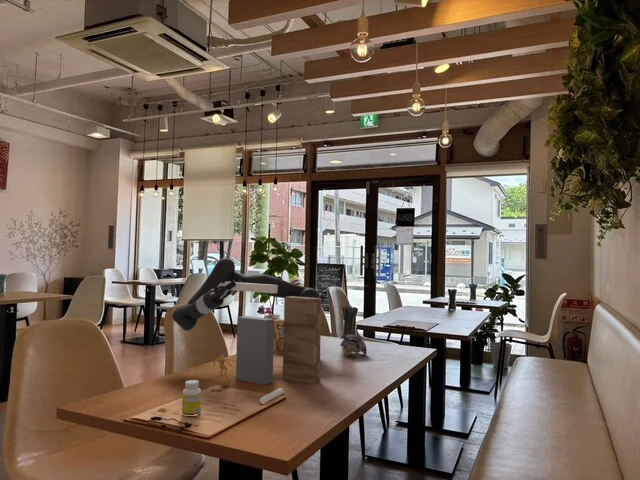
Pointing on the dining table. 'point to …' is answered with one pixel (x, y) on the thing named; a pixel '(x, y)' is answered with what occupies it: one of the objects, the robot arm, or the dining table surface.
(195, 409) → the supplement bottle
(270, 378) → the grey rectangular box
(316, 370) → the tall wooden block
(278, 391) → the marker
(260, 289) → the bar
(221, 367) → the figurine
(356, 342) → the decorative flower
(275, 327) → the candy box
